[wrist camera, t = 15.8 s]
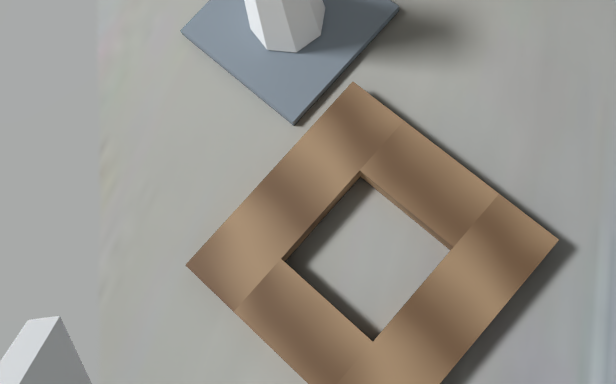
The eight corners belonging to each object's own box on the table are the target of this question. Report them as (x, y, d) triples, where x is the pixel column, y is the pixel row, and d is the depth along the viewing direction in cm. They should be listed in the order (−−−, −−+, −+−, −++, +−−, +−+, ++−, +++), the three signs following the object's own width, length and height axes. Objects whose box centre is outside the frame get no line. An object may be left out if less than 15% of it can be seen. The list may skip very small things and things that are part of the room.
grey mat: (284, -71, 43) (282, -76, 42) (398, 11, 40) (399, 6, 40) (183, 34, 42) (180, 30, 41) (293, 125, 39) (292, 122, 39)
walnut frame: (353, 90, 39) (352, 81, 38) (551, 243, 35) (559, 239, 34) (192, 267, 38) (185, 265, 36) (381, 449, 34) (381, 454, 32)
